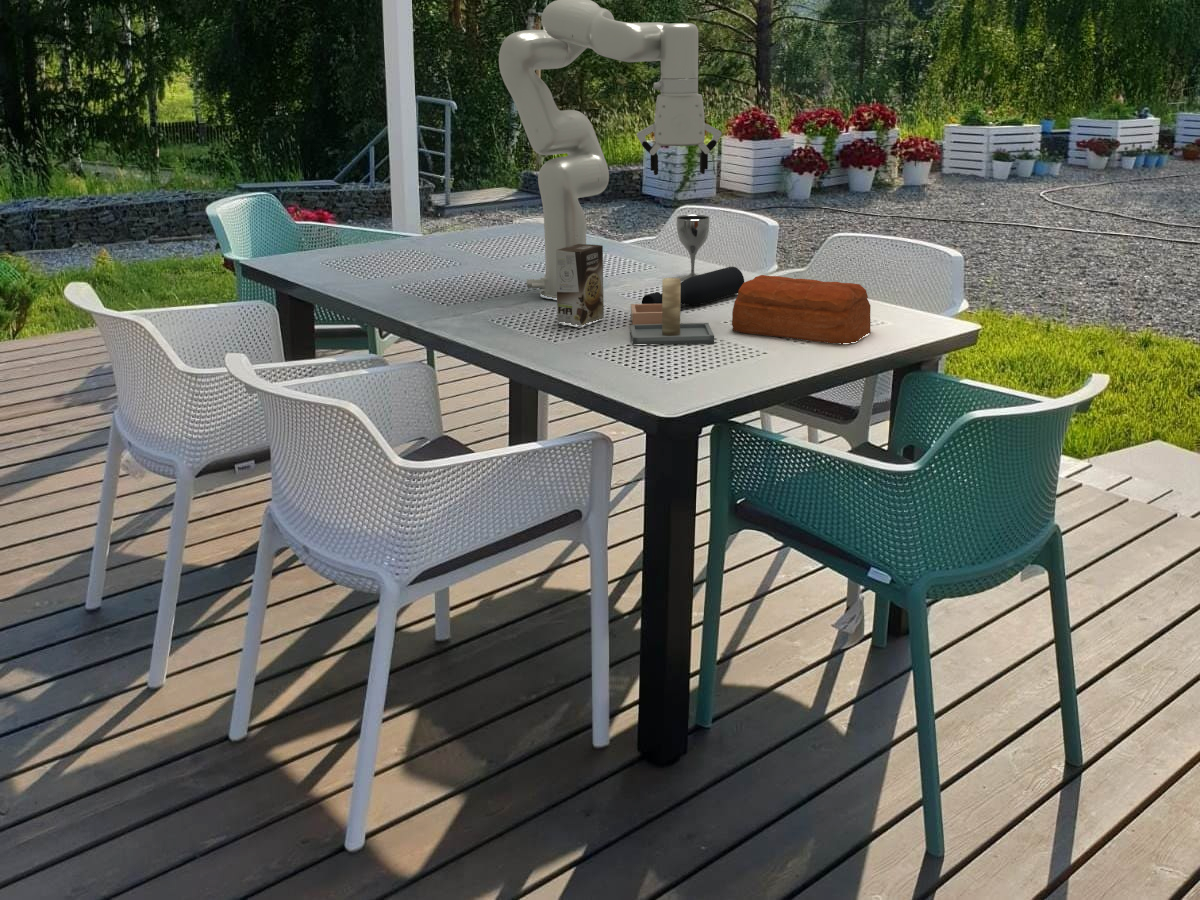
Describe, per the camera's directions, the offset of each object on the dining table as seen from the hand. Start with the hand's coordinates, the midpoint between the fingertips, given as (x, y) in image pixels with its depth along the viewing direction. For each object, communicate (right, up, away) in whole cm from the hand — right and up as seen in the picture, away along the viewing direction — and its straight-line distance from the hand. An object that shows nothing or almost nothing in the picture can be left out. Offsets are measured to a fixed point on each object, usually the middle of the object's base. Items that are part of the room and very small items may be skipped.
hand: (679, 173), depth 255 cm
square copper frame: (-5, -30, +5) cm, 31 cm away
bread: (+25, -33, -4) cm, 42 cm away
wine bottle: (+15, -18, +30) cm, 38 cm away
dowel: (-2, -34, -7) cm, 35 cm away
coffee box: (-20, -30, +7) cm, 37 cm away
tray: (-2, -35, -7) cm, 35 cm away
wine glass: (+6, -15, +49) cm, 52 cm away
